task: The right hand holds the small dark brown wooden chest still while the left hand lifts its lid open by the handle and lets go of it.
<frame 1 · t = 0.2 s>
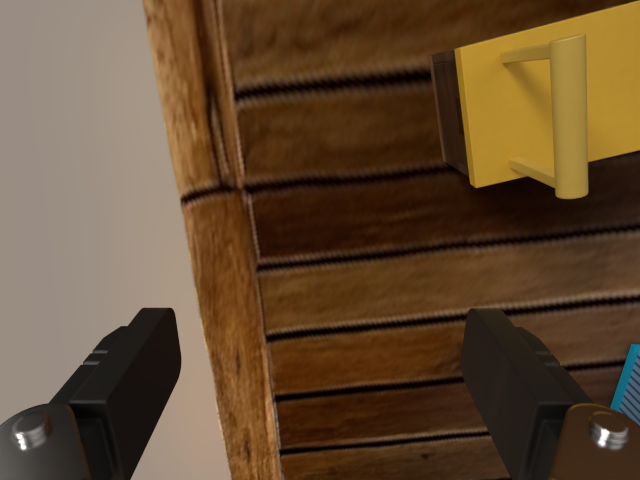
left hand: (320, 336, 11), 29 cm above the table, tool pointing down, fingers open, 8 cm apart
lid: (623, 93, 24), point 13 cm above the table, hinge at 0.0°
chest: (522, 88, 36), on the table
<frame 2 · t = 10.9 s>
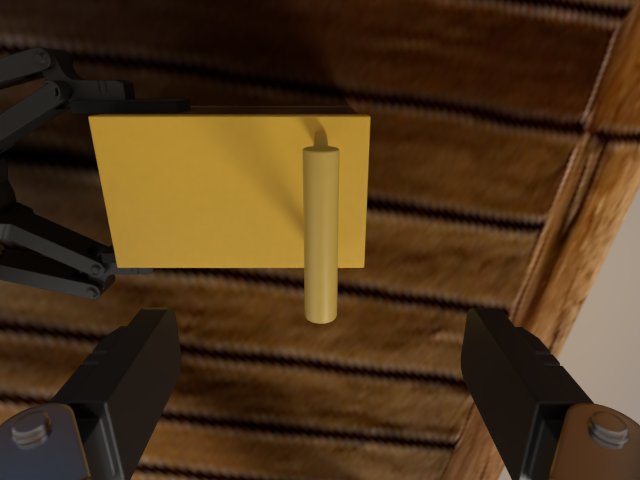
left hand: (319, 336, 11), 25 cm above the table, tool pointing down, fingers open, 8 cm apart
lid: (223, 213, 22), point 13 cm above the table, hinge at 0.0°
chest: (255, 165, 34), on the table, touching right hand
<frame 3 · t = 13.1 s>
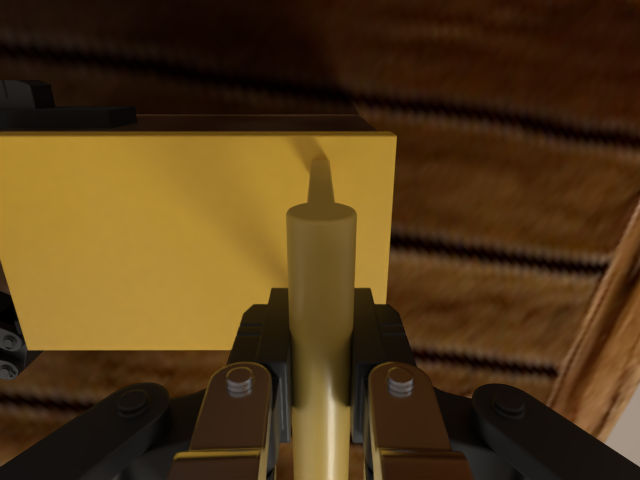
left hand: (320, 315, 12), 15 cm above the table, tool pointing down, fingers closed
lid: (166, 291, 14), point 13 cm above the table, hinge at 0.0°, touching left hand
chest: (235, 191, 26), on the table, touching right hand
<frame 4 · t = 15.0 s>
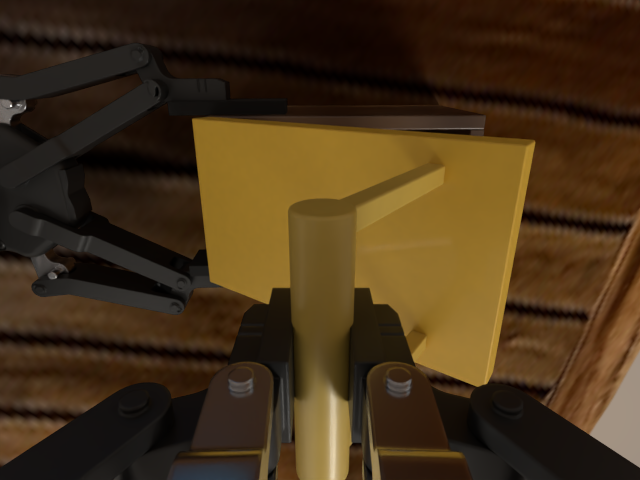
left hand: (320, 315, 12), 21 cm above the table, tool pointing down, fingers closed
right hand: (288, 189, 26), fingers closed on chest, 9 cm apart
lid: (269, 259, 16), point 17 cm above the table, hinge at 37.0°, touching left hand
chest: (335, 168, 32), on the table, touching right hand
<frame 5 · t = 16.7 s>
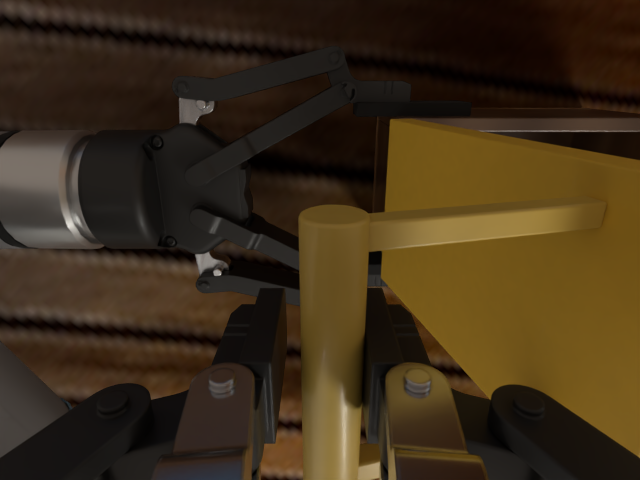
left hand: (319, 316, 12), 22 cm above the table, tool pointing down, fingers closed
right hand: (453, 189, 27), fingers closed on chest, 9 cm apart
lid: (388, 266, 16), point 18 cm above the table, hinge at 75.4°
chest: (471, 170, 33), on the table, touching right hand
when the right hand's fingers open (6 cm above the table, at t = 20.6 s): chest stays where it is, on the table.
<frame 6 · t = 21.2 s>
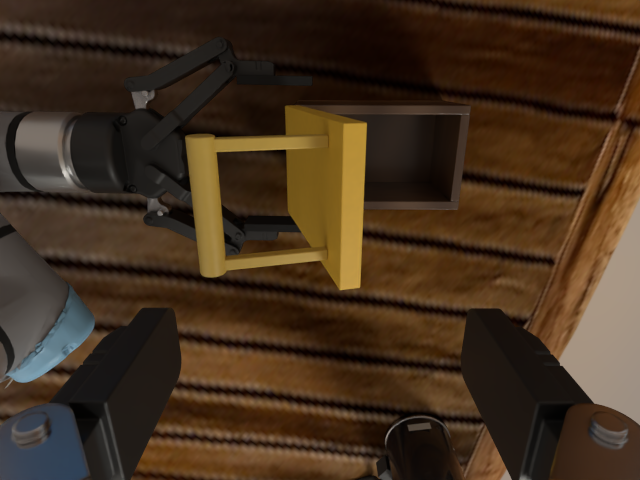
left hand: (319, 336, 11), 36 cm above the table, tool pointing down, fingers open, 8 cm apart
right hand: (311, 157, 40), fingers open, 13 cm apart
lid: (262, 183, 29), point 18 cm above the table, hinge at 75.0°
chest: (368, 145, 45), on the table
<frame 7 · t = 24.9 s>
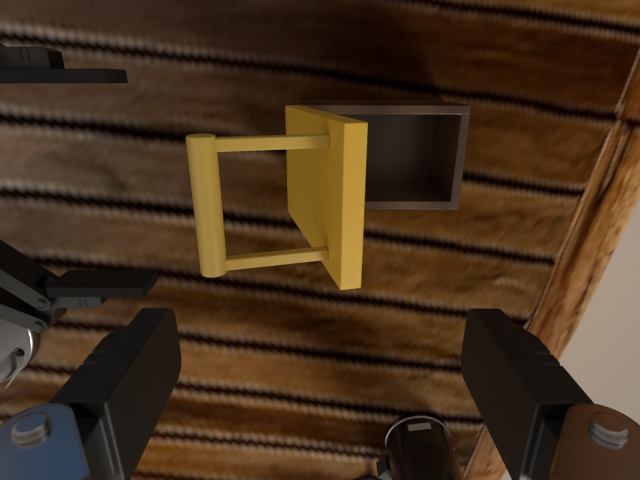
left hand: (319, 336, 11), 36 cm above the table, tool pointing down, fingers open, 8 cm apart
lid: (262, 183, 28), point 18 cm above the table, hinge at 75.0°
chest: (368, 145, 45), on the table
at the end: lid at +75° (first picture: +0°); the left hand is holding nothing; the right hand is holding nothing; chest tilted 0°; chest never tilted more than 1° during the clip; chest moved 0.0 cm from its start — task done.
